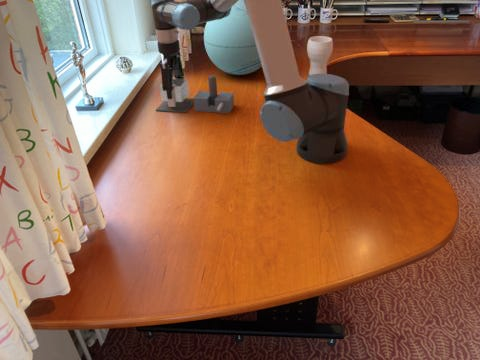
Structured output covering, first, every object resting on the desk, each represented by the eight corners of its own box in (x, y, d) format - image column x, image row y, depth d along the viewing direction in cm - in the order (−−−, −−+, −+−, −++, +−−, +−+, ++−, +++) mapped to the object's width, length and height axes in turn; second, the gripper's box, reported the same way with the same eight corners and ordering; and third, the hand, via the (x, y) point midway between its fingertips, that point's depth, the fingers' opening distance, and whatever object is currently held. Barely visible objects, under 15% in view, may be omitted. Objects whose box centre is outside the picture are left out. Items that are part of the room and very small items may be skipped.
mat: (186, 113, 147) (186, 111, 147) (155, 111, 149) (155, 109, 149) (196, 100, 156) (196, 98, 156) (167, 98, 159) (167, 96, 159)
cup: (330, 79, 169) (333, 43, 160) (304, 78, 171) (306, 42, 162) (330, 70, 177) (333, 35, 169) (306, 69, 179) (308, 35, 171)
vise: (226, 118, 142) (224, 86, 135) (190, 116, 145) (187, 84, 138) (233, 105, 151) (232, 74, 144) (200, 103, 154) (197, 72, 147)
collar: (182, 102, 147) (180, 86, 144) (161, 100, 149) (159, 85, 145) (189, 93, 153) (187, 78, 150) (169, 92, 155) (167, 77, 152)
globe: (263, 88, 164) (263, 10, 146) (196, 81, 172) (188, 7, 155) (281, 64, 187) (283, -6, 169) (221, 59, 195) (216, -8, 178)
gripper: (166, 50, 130) (175, 114, 143) (188, 32, 146) (194, 91, 159) (145, 49, 131) (156, 112, 145) (169, 31, 148) (176, 90, 161)
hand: (176, 101), depth 152 cm, fingers closed on collar, 8 cm apart
